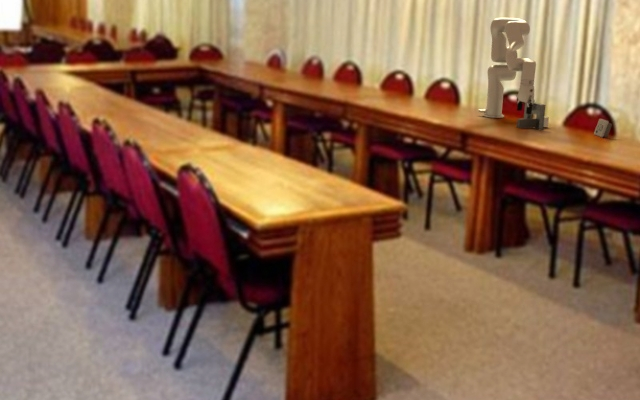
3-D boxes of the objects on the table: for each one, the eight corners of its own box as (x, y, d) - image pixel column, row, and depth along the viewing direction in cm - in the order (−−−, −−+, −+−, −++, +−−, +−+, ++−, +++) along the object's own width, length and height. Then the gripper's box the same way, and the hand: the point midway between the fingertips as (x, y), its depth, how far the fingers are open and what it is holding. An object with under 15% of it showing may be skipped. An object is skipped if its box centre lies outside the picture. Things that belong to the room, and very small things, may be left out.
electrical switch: (593, 134, 480) (596, 118, 478) (601, 135, 481) (605, 119, 479) (601, 137, 472) (604, 120, 469) (610, 138, 473) (613, 121, 470)
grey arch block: (538, 129, 491) (541, 105, 488) (523, 124, 506) (525, 101, 502) (543, 129, 492) (545, 104, 489) (527, 124, 507) (529, 100, 503)
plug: (520, 128, 493) (521, 118, 492) (515, 127, 498) (516, 116, 496) (547, 127, 499) (548, 117, 498) (542, 126, 504) (543, 115, 502)
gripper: (541, 84, 484) (538, 114, 489) (524, 79, 500) (521, 109, 504) (530, 84, 481) (526, 115, 486) (513, 80, 497) (510, 109, 502)
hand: (523, 112), depth 495 cm, fingers open, 9 cm apart
